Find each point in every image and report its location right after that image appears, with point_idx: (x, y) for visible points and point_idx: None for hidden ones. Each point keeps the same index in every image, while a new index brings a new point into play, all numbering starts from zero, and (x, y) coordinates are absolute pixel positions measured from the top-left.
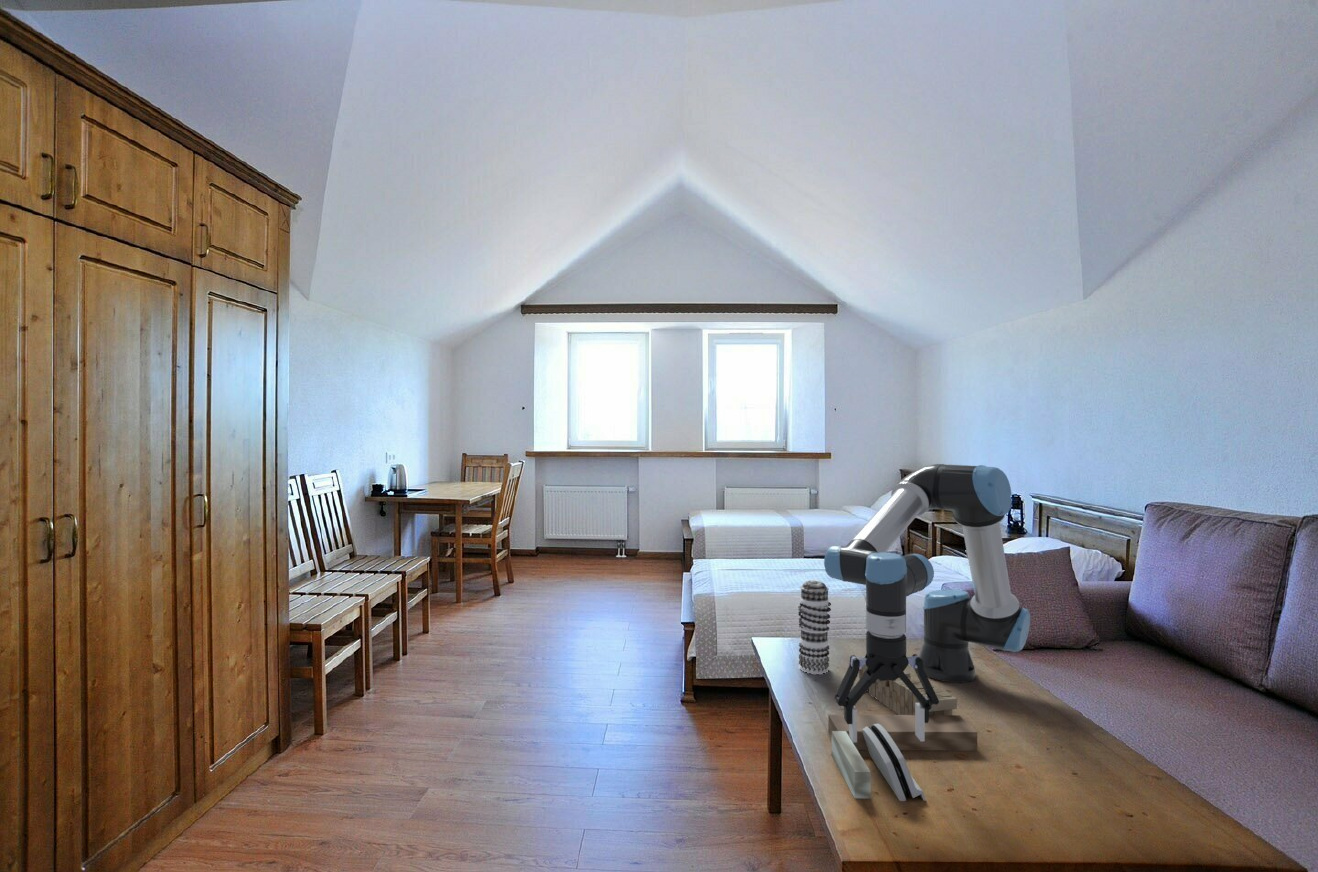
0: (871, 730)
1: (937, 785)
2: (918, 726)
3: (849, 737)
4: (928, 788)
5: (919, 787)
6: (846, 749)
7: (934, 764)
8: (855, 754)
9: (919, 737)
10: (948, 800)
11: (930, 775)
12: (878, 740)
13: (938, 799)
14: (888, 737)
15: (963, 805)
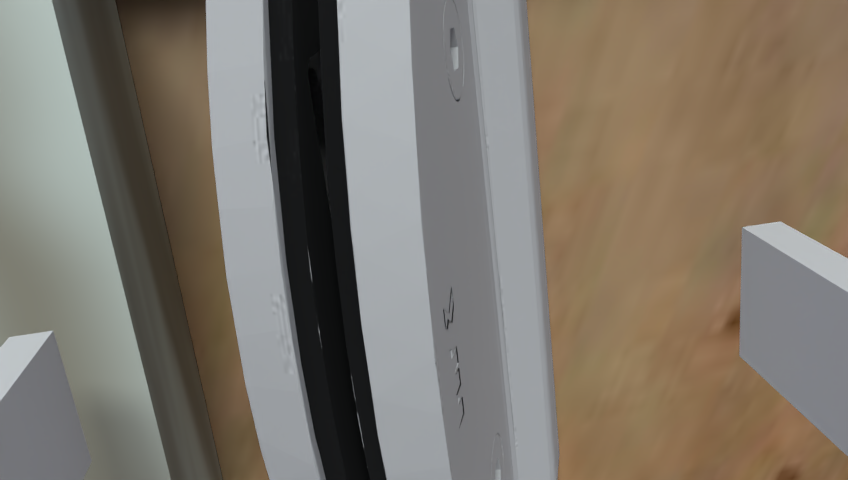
0: (277, 243)
1: (689, 283)
2: (814, 366)
3: (67, 70)
4: (620, 326)
5: (548, 461)
6: (23, 330)
7: (785, 4)
8: (106, 401)
9: (752, 339)
10: (686, 428)
11: (694, 167)
12: (312, 471)
13: (634, 429)
14: (422, 464)
15: (747, 458)
